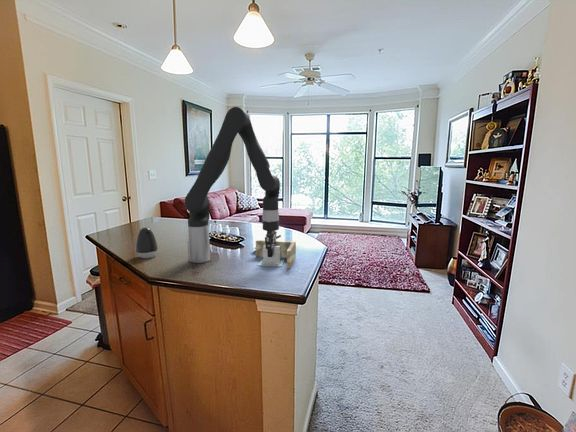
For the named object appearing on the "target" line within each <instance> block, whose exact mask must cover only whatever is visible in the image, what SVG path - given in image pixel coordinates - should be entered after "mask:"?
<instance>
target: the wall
mask: <svg viewBox="0 0 576 432" xmlns="http://www.w3.org/2000/svg"><path fill="white" fill-rule="evenodd" d="M281 237H282V234H279V235H276V240H278V239H279V238H281ZM254 249H255V250H256V246H255V247H254V248H252V250H254Z"/></svg>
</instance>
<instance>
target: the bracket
mask: <svg viewBox="0 0 576 432" xmlns="http://www.w3.org/2000/svg"><path fill="white" fill-rule="evenodd" d="M262 259H263V261H262V262H261V261H260V262H261V265H266V266H265V267H273V266H279V264H280V263H281V260H282V258H281V247H280V246H273V256H272V257H268V252H267V249H266V245H264V246H263V257H262Z"/></svg>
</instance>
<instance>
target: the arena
mask: <svg viewBox="0 0 576 432" xmlns="http://www.w3.org/2000/svg"><path fill="white" fill-rule="evenodd" d="M264 245H265V239H264V240H263V239H262V240H259V239H256V240H255V247H256V249H255V256H256V257H259V258H260V257H262V258H263V246H264ZM269 246H270V245H269ZM275 246H280V247H281V259H282V258H283V259H284V258H285V259H286V269H291V268H292V266H293V264H294V262H295V260H296V258H297V254H296V253H297V248H296V246H297V241H287V240H286V241H285V240H276V244H275Z"/></svg>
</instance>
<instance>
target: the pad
mask: <svg viewBox="0 0 576 432" xmlns="http://www.w3.org/2000/svg"><path fill="white" fill-rule="evenodd" d="M262 261H263V258H262V259H261V260H260V261H259V263H258V264H257V266H259V267H267V266H266V265H261V262H262ZM284 263H285V260H284V259H281V263H280V264H279V266H272V267H277V268H282V266H283V265H284Z"/></svg>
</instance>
